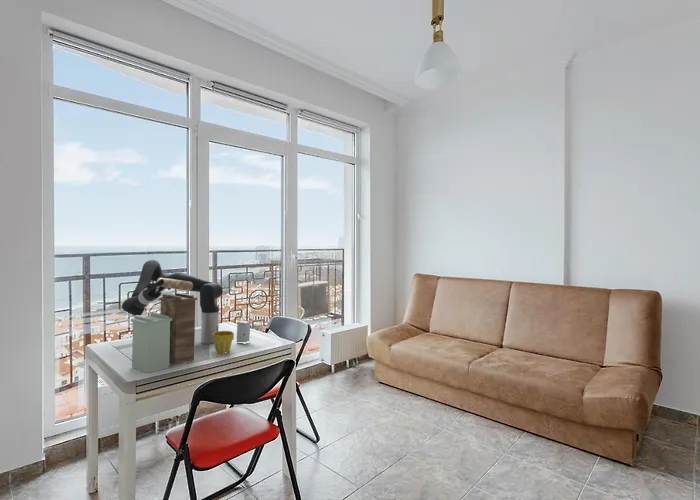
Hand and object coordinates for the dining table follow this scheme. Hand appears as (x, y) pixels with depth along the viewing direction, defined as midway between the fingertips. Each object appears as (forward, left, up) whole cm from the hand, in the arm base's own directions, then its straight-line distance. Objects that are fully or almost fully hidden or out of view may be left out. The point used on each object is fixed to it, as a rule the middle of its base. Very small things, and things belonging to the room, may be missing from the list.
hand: (167, 280), depth 186 cm
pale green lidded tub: (+5, +15, -38) cm, 41 cm away
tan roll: (-3, +4, -4) cm, 6 cm away
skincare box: (-37, -18, -38) cm, 56 cm away
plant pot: (-26, -3, -38) cm, 46 cm away
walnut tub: (-5, +6, -38) cm, 38 cm away
